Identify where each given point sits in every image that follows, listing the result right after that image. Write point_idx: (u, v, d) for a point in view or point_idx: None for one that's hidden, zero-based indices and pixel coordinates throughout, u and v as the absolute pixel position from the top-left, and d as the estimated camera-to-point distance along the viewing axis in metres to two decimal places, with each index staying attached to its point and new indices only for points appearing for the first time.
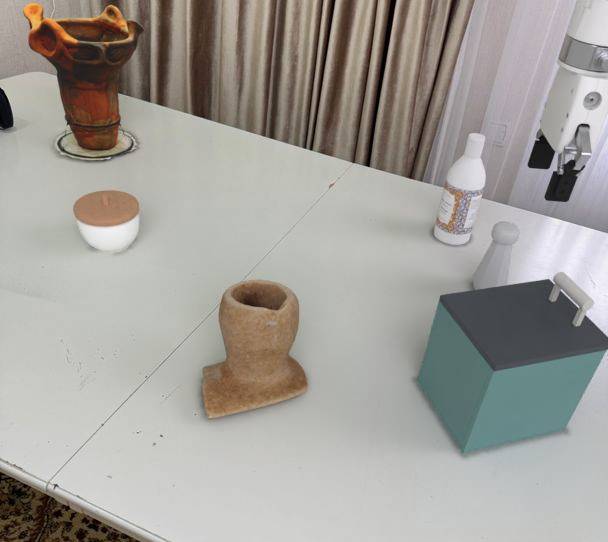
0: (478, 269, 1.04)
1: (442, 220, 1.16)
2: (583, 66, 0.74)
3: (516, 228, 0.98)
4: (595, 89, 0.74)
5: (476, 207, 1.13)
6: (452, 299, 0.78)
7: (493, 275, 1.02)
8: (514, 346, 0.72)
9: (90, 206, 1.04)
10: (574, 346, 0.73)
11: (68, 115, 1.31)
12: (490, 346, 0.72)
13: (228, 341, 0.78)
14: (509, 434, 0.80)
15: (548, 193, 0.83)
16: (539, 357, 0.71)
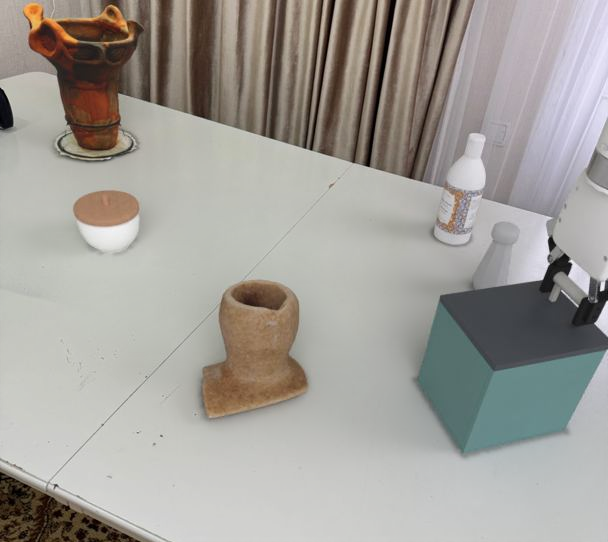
0: (478, 269, 1.04)
1: (442, 220, 1.16)
2: None
3: (516, 228, 0.98)
4: None
5: (476, 207, 1.13)
6: (452, 299, 0.78)
7: (493, 275, 1.02)
8: (514, 346, 0.72)
9: (90, 206, 1.04)
10: (574, 346, 0.73)
11: (68, 115, 1.31)
12: (490, 346, 0.72)
13: (228, 340, 0.78)
14: (509, 434, 0.80)
15: (578, 320, 0.74)
16: (539, 357, 0.71)
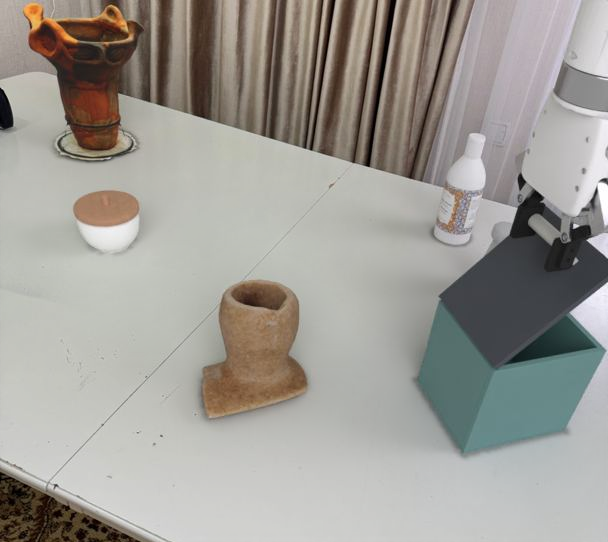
0: None
1: (442, 220, 1.16)
2: (601, 107, 0.55)
3: None
4: None
5: (476, 207, 1.13)
6: (449, 295, 0.78)
7: None
8: (510, 329, 0.70)
9: (90, 206, 1.04)
10: (572, 297, 0.67)
11: (68, 115, 1.31)
12: (486, 342, 0.71)
13: (228, 340, 0.78)
14: (509, 434, 0.80)
15: (550, 264, 0.66)
16: (535, 333, 0.68)
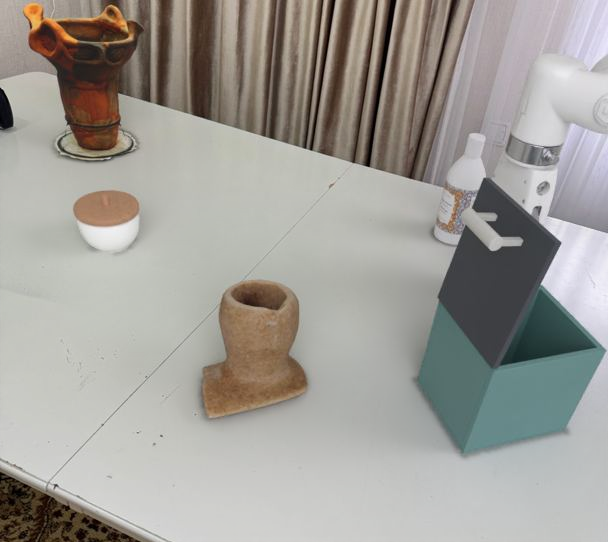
0: None
1: (442, 220, 1.16)
2: (533, 162, 0.87)
3: None
4: (545, 179, 0.88)
5: None
6: (444, 296, 0.77)
7: None
8: (493, 327, 0.69)
9: (90, 206, 1.04)
10: (528, 283, 0.63)
11: (68, 115, 1.31)
12: (481, 343, 0.71)
13: (228, 340, 0.78)
14: (509, 434, 0.80)
15: None
16: (511, 328, 0.66)
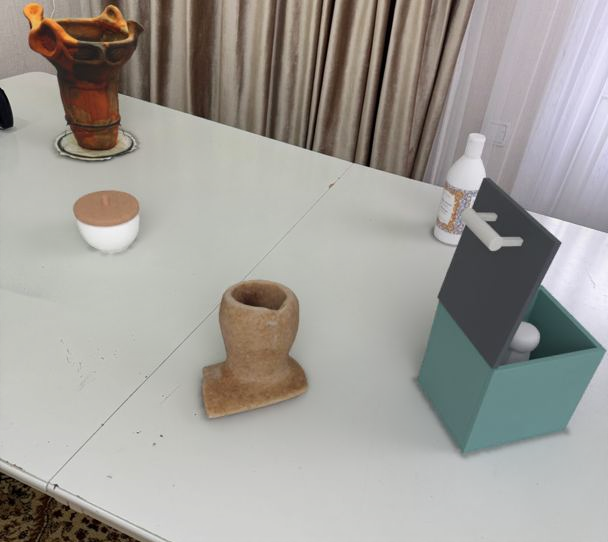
0: None
1: (442, 220, 1.16)
2: None
3: (535, 331, 0.78)
4: None
5: None
6: (444, 296, 0.77)
7: None
8: (493, 327, 0.69)
9: (90, 206, 1.04)
10: (528, 283, 0.63)
11: (68, 115, 1.31)
12: (481, 343, 0.71)
13: (228, 340, 0.78)
14: (509, 434, 0.80)
15: None
16: (511, 328, 0.66)
